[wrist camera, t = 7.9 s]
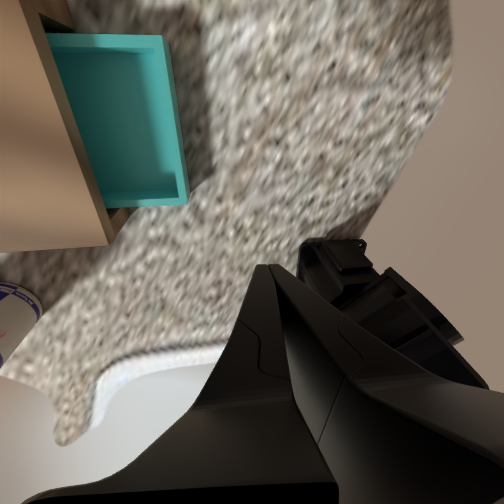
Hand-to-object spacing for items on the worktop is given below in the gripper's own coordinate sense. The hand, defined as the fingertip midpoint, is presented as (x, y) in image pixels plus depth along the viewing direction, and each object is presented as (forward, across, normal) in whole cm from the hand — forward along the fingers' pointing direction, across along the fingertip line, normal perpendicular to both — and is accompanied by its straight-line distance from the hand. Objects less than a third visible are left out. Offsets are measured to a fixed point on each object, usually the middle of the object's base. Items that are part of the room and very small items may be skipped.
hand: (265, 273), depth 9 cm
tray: (+12, +10, -4) cm, 16 cm away
